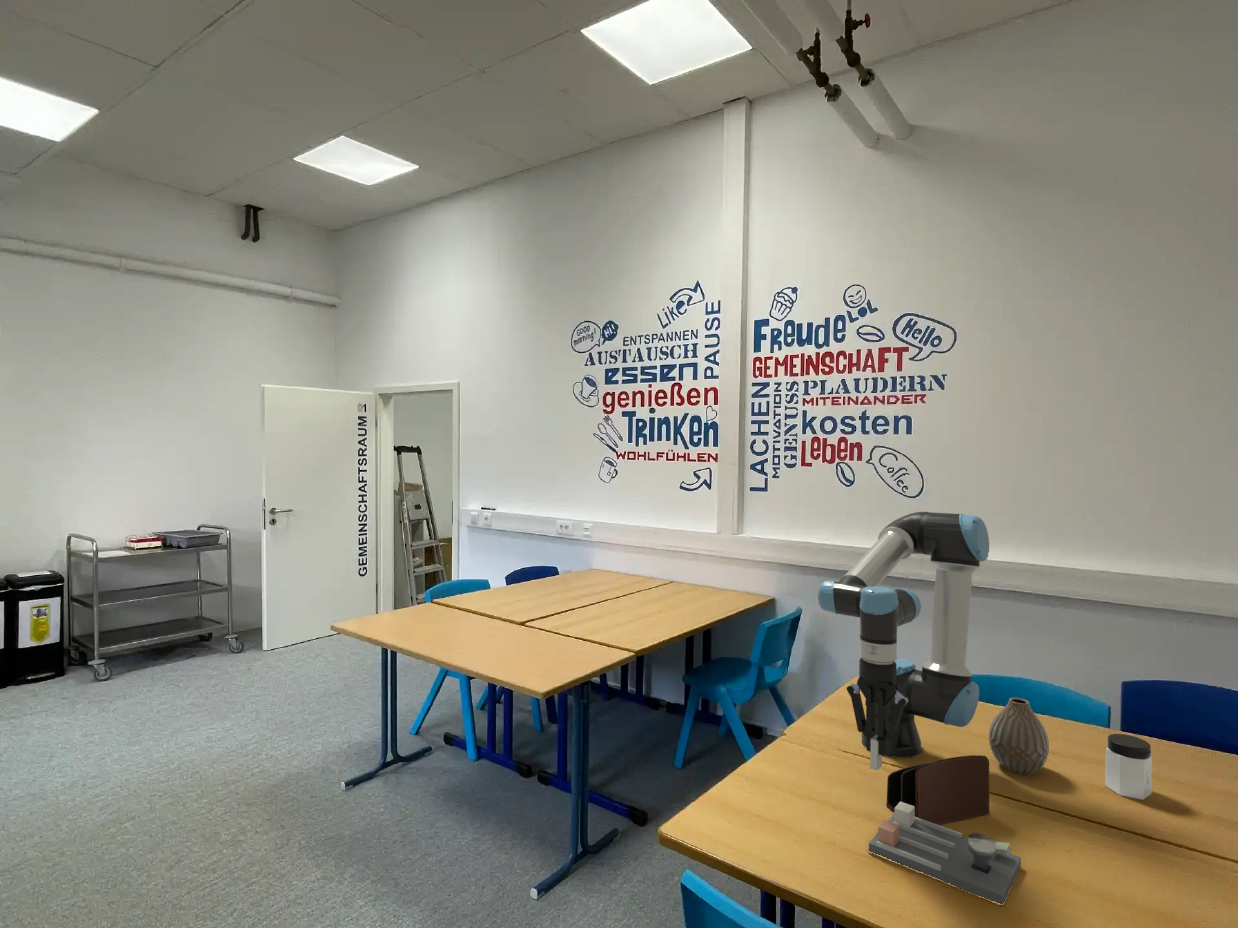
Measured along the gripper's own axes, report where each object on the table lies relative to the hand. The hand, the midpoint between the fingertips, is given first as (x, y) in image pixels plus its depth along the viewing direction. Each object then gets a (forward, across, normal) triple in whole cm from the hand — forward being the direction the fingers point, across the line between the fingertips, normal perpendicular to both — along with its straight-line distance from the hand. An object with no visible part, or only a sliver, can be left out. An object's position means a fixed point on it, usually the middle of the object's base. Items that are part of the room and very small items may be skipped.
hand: (875, 767), depth 146 cm
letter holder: (+13, +9, +14) cm, 21 cm away
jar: (+12, +40, +54) cm, 68 cm away
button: (+10, +22, -5) cm, 25 cm away
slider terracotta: (+10, +6, -9) cm, 15 cm away
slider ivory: (+10, +6, 0) cm, 12 cm away
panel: (+12, +15, -4) cm, 20 cm away
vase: (+12, +18, +49) cm, 54 cm away
